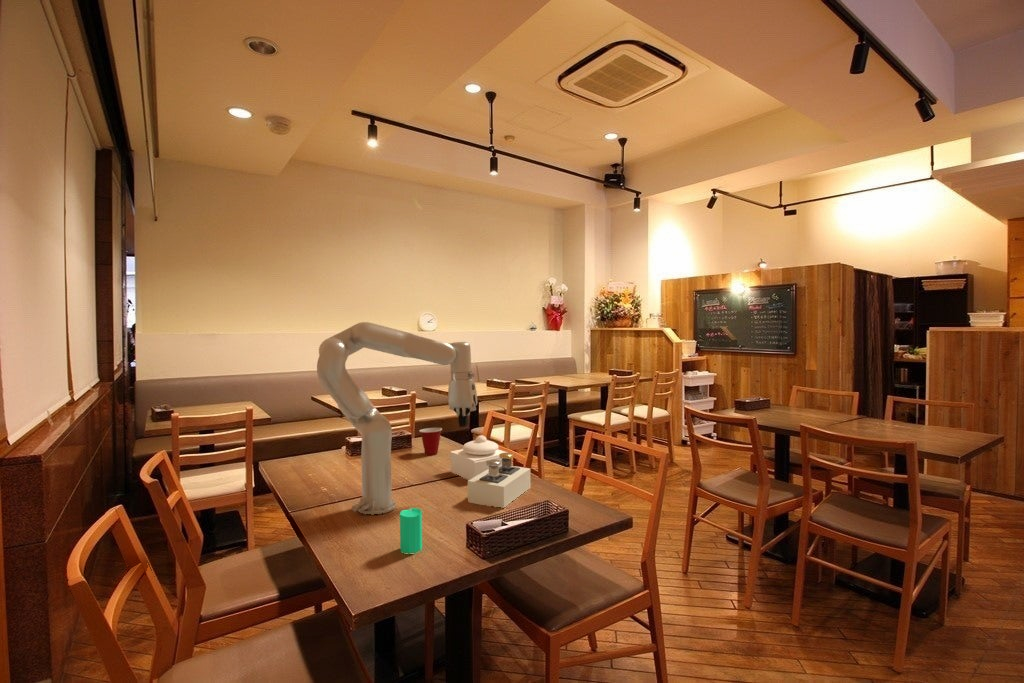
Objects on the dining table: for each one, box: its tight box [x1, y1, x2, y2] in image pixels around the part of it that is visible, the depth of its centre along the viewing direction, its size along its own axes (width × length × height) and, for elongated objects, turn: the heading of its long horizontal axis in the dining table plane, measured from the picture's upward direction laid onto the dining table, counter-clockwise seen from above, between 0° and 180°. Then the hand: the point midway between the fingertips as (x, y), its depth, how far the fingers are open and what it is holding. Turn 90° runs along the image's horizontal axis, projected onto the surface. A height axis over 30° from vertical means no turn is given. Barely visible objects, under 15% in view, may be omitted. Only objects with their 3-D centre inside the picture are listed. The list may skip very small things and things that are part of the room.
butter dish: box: [449, 434, 509, 481], centre depth 198 cm, size 18×18×16 cm
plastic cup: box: [419, 427, 443, 456], centre depth 228 cm, size 11×11×12 cm
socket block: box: [467, 464, 532, 509], centre depth 173 cm, size 22×14×8 cm, turn 154°
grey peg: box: [486, 460, 501, 480], centre depth 168 cm, size 5×5×8 cm
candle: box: [399, 507, 423, 554], centre depth 132 cm, size 6×6×12 cm
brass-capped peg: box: [499, 452, 515, 472], centre depth 177 cm, size 5×5×8 cm
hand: (463, 426), depth 175 cm, fingers closed
